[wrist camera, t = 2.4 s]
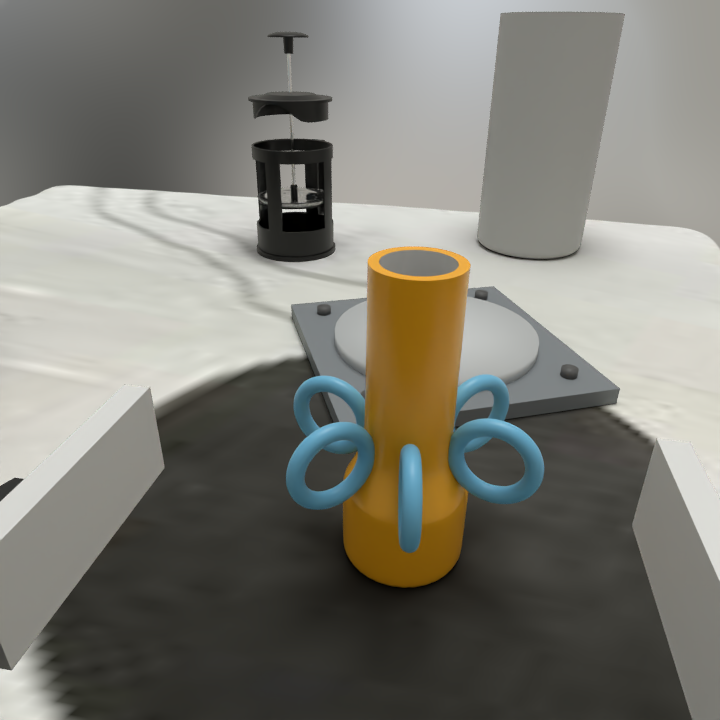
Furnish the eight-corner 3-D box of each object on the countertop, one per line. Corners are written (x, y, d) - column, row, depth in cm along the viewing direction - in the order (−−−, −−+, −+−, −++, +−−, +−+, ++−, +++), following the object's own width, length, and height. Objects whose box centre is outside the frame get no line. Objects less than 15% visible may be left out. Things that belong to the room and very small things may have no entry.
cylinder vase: (599, 247, 75) (647, 14, 63) (540, 268, 68) (581, 10, 56) (516, 225, 83) (545, 16, 71) (456, 242, 76) (476, 13, 64)
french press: (309, 268, 67) (302, 31, 56) (238, 256, 70) (218, 30, 59) (354, 239, 76) (355, 32, 65) (289, 230, 80) (280, 31, 69)
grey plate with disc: (341, 443, 38) (341, 414, 37) (291, 316, 55) (290, 294, 54) (616, 403, 43) (622, 376, 42) (492, 297, 60) (494, 276, 59)
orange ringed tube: (433, 452, 38) (454, 212, 30) (563, 563, 30) (632, 275, 23) (249, 523, 32) (222, 249, 25) (350, 684, 24) (352, 351, 17)
